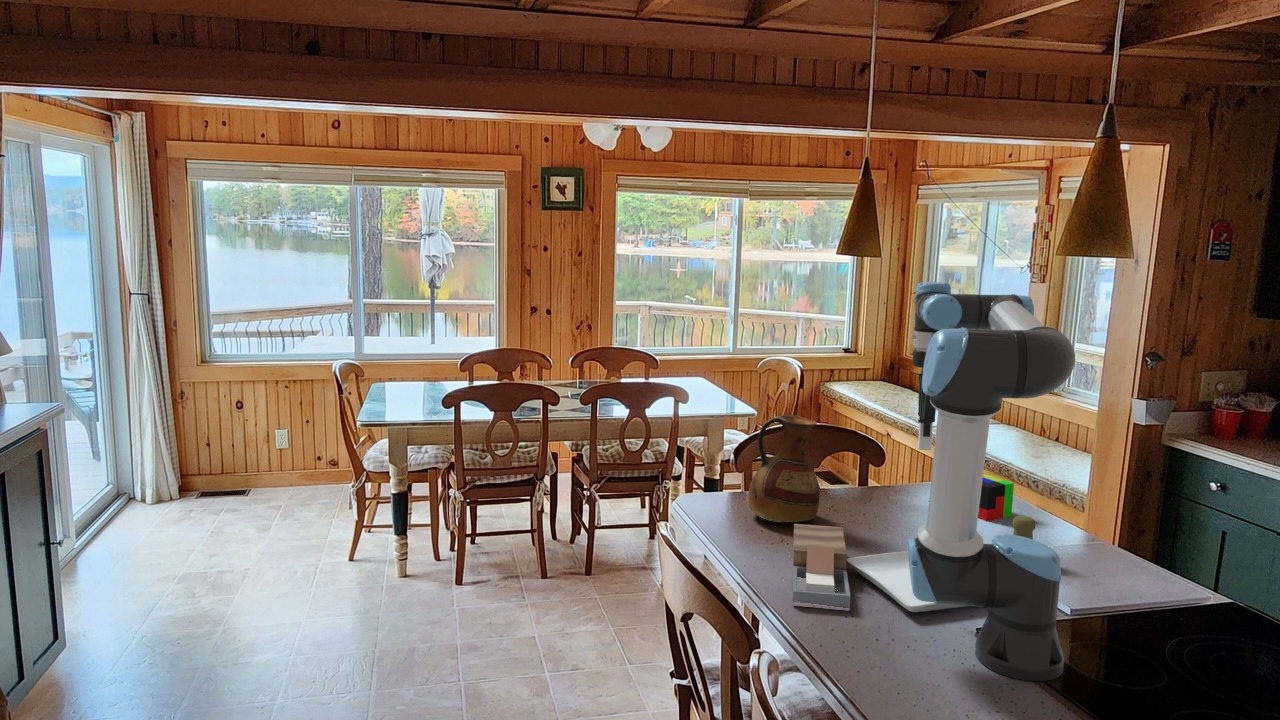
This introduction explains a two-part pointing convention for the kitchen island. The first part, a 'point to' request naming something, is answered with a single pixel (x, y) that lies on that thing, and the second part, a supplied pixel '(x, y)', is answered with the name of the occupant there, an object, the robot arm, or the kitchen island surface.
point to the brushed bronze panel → (819, 543)
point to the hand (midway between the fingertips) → (924, 449)
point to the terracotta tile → (820, 560)
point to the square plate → (894, 579)
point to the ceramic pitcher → (785, 476)
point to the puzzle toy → (995, 498)
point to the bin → (823, 598)
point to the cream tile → (819, 582)
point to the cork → (1023, 526)
